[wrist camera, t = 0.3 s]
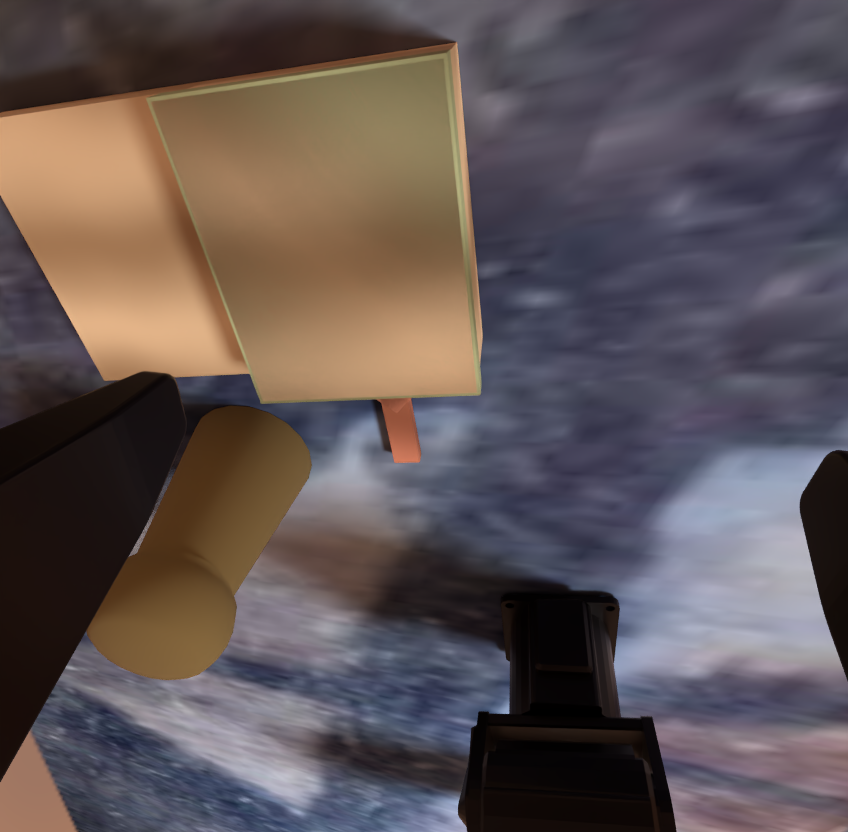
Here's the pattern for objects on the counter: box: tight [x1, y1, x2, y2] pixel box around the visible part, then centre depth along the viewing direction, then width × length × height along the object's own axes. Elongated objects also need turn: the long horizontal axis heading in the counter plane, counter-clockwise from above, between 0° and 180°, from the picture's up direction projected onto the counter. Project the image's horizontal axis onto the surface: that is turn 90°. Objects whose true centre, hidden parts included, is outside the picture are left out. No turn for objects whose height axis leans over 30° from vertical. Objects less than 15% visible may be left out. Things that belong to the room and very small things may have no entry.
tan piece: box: [0, 42, 483, 463], centre depth 22 cm, size 16×16×4 cm
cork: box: [87, 406, 312, 680], centre depth 25 cm, size 6×6×11 cm
